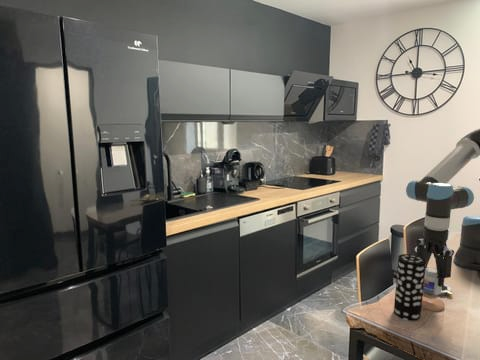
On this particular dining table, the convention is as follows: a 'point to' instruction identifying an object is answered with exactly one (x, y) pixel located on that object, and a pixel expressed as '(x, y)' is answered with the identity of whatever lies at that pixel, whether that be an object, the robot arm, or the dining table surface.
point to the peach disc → (432, 304)
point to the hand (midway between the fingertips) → (429, 289)
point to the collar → (446, 291)
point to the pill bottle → (429, 283)
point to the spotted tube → (409, 287)
